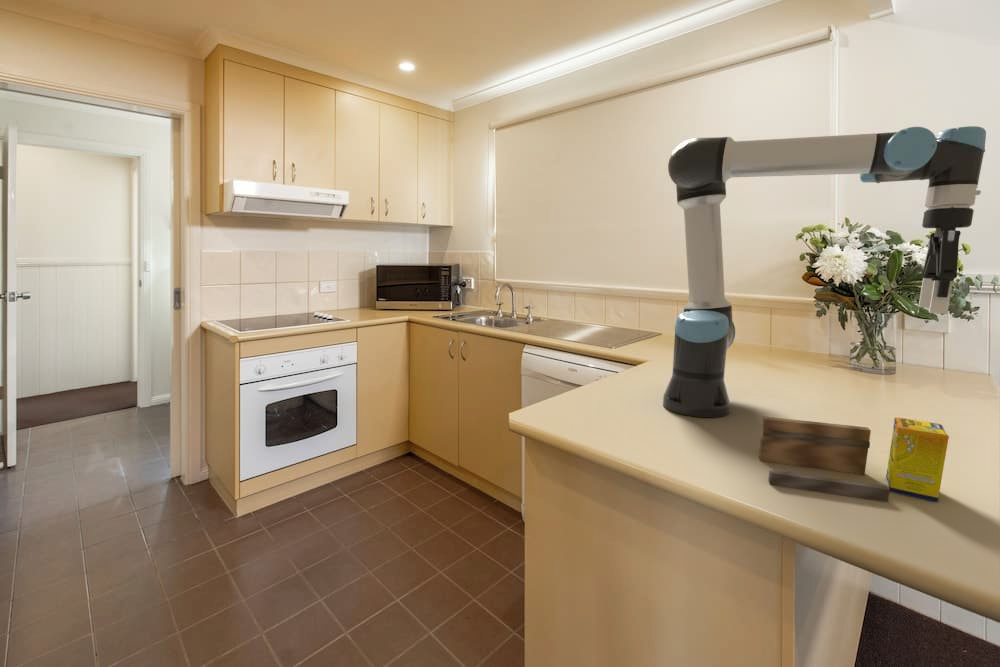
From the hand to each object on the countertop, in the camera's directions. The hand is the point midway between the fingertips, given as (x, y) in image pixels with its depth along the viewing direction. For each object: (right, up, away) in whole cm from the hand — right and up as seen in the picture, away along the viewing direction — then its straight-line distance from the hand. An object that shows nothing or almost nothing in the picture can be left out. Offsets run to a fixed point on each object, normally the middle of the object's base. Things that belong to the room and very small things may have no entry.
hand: (931, 310), depth 102 cm
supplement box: (-26, -30, -25) cm, 47 cm away
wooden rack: (-39, -29, -21) cm, 53 cm away
